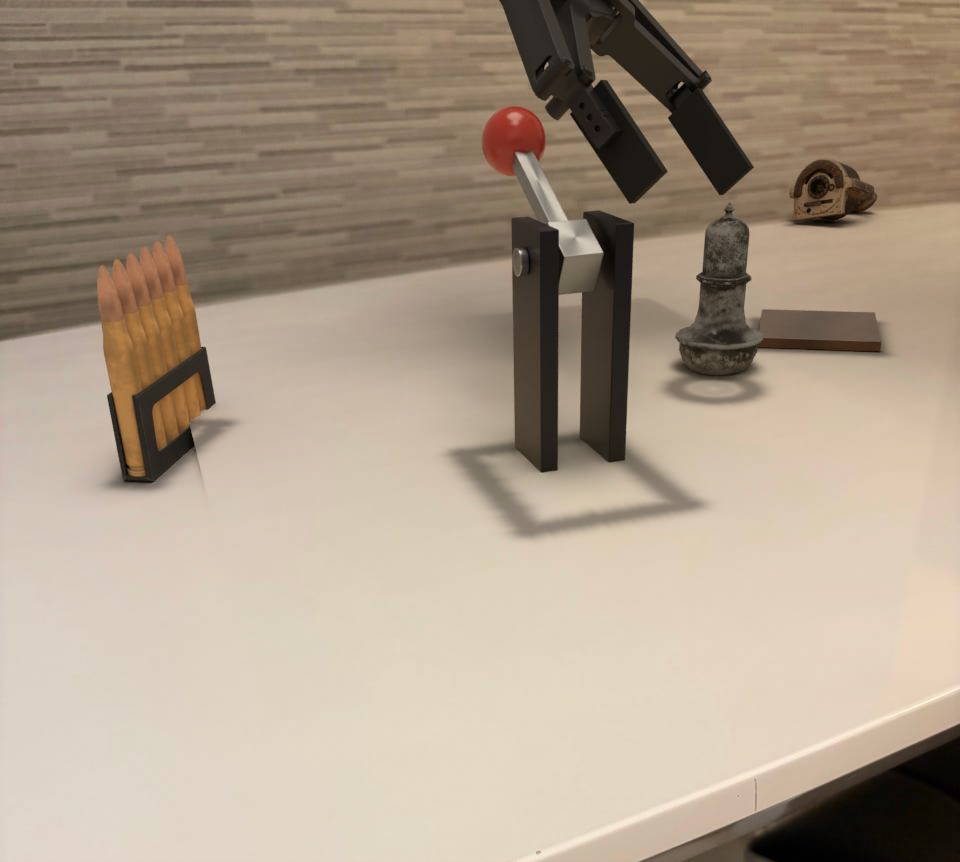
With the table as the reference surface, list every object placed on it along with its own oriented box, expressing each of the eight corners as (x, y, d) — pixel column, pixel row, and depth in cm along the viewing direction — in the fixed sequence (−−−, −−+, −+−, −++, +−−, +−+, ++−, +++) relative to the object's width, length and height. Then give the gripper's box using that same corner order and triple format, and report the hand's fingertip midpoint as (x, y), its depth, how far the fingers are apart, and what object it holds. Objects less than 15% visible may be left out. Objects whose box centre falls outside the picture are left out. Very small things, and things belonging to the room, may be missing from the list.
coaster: (873, 322, 89) (875, 312, 88) (880, 351, 81) (881, 341, 81) (761, 318, 91) (761, 308, 90) (757, 347, 83) (758, 337, 83)
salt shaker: (709, 369, 79) (722, 192, 73) (775, 386, 75) (796, 201, 69) (654, 387, 75) (663, 203, 69) (721, 405, 71) (737, 213, 65)
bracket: (463, 452, 66) (453, 210, 59) (600, 432, 68) (606, 197, 61) (530, 528, 56) (527, 248, 49) (688, 502, 58) (707, 231, 51)
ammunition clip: (151, 482, 63) (109, 268, 57) (122, 481, 63) (77, 268, 57) (219, 422, 72) (190, 232, 66) (193, 421, 72) (161, 232, 66)
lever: (470, 154, 62) (477, 94, 59) (529, 149, 63) (539, 90, 60) (541, 306, 56) (552, 248, 53) (605, 299, 57) (620, 241, 54)
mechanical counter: (765, 170, 129) (823, 158, 121) (847, 150, 134) (909, 137, 125) (772, 233, 132) (830, 225, 123) (852, 211, 136) (913, 202, 127)
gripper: (571, -18, 81) (726, 214, 81) (356, -66, 63) (557, 236, 62) (642, -106, 76) (808, 141, 76) (433, -186, 58) (652, 141, 57)
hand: (696, 185), depth 69 cm, fingers open, 13 cm apart
